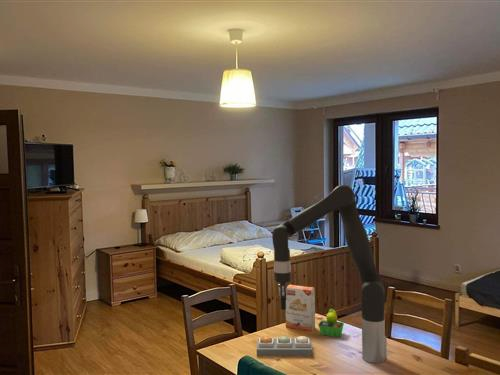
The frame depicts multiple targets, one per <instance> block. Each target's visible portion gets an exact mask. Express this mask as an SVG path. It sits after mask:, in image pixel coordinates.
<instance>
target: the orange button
mask: <svg viewBox="0 0 500 375" xmlns="http://www.w3.org/2000/svg"><path fill="white" fill-rule="evenodd" d="M260 338H261V343H271V338H272V337H271V336H270V335H269V336H268V335H264V336H261V337H260Z"/></svg>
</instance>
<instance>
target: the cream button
mask: <svg viewBox="0 0 500 375" xmlns="http://www.w3.org/2000/svg"><path fill="white" fill-rule="evenodd" d="M296 338H297V343H307V338H308V337H307V336H305V335H303V336H302V335H301V336H300V335H299V336H297V337H296Z"/></svg>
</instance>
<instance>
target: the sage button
mask: <svg viewBox="0 0 500 375" xmlns="http://www.w3.org/2000/svg"><path fill="white" fill-rule="evenodd" d="M278 338H279V343H289V338H290V337H289V336H286V335H281V336H279V337H278Z"/></svg>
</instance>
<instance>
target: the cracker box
mask: <svg viewBox="0 0 500 375" xmlns="http://www.w3.org/2000/svg"><path fill="white" fill-rule="evenodd" d="M315 298H316V290H315V287H313V286H305V285H295V284H287V296H286V309H285V327H286V328H291V329H295V328H296V330H301V331H308V332H312V331H314V329H315V328H316V299H315Z"/></svg>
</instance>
